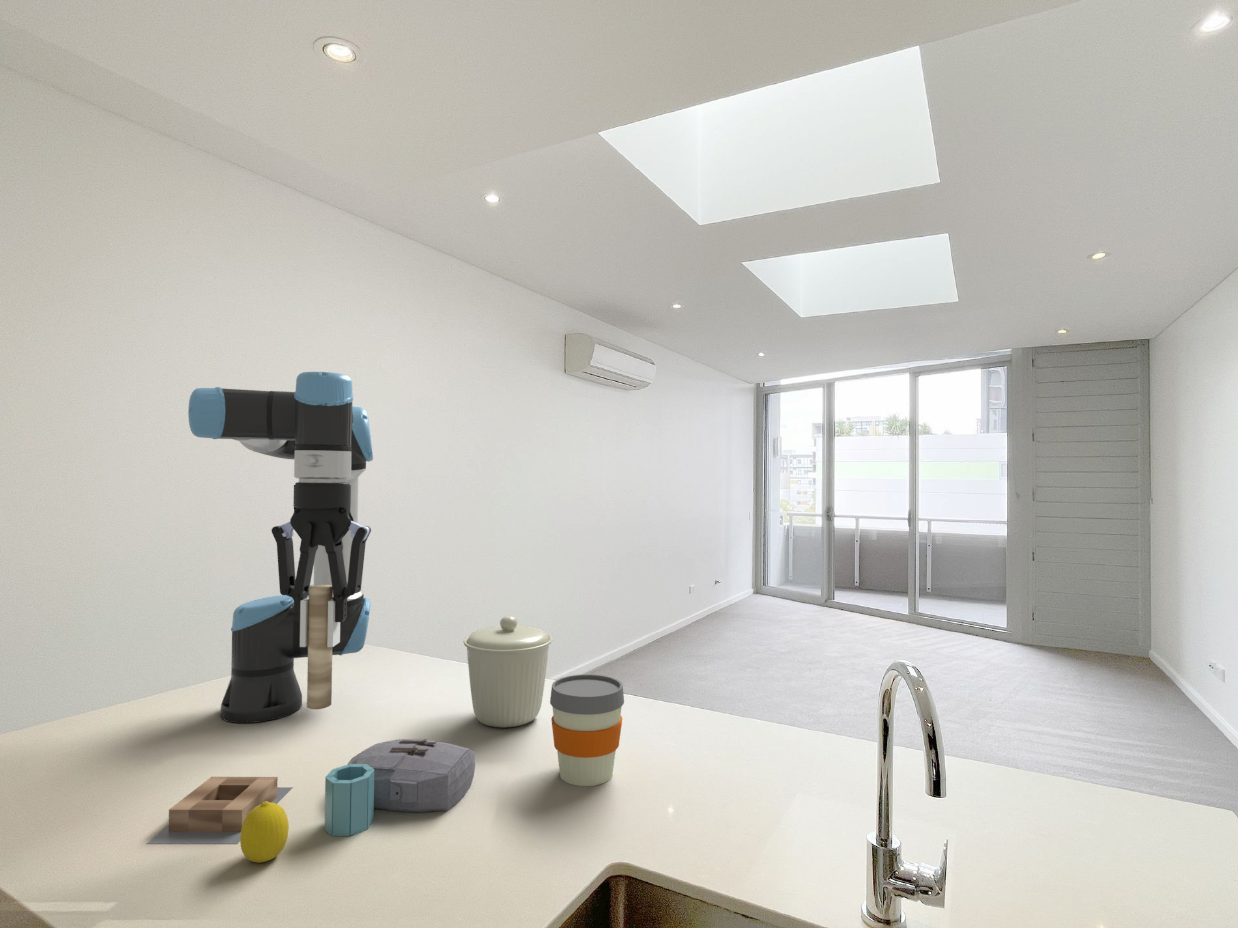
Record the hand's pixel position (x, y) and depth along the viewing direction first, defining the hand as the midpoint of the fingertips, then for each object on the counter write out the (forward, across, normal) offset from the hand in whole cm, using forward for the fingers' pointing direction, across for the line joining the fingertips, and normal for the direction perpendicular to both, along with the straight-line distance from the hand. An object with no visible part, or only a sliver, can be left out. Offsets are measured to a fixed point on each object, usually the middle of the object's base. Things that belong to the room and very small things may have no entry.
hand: (320, 644), depth 96 cm
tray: (+26, -14, +2) cm, 30 cm away
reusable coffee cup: (+26, +38, +16) cm, 49 cm away
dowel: (+9, 0, 0) cm, 9 cm away
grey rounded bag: (+26, +10, +9) cm, 30 cm away
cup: (+26, +5, -2) cm, 26 cm away
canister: (+27, +22, +41) cm, 54 cm away
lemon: (+26, -3, -10) cm, 28 cm away
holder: (+25, -14, +2) cm, 29 cm away
